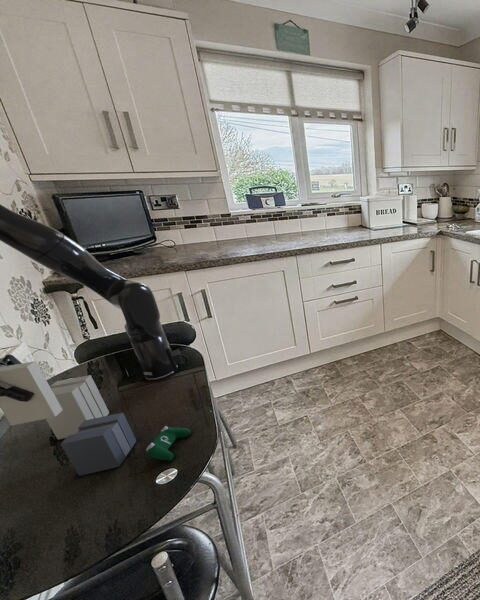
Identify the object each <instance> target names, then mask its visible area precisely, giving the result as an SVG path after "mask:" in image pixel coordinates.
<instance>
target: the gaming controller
mask: <svg viewBox="0 0 480 600" xmlns="http://www.w3.org/2000/svg"><path fill="white" fill-rule="evenodd" d="M159 432H160V433H158V434H157V436H156V437H155V438H154V439H153V440H152V441H151V443H150V444H149V445H147V447H146V449H145V453H146V454H147V455H148V456H149V457H151V458H152V459H155V460H156V459H157V460H160V461H172V460H174V458H175V455H174V454H173V453H172V451H170V450H169V449H170V448H171V446H172V445H173V443H174V442H175V440H177V439H181V438H182V439H183V438H186V437H189V436H190V435H191V430H190V429H189V428H186V427H171V426H167V425H165V426H164V427H163V428H162V429H161V430H160V431H159Z"/></svg>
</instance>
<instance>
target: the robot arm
mask: <svg viewBox="0 0 480 600" xmlns="http://www.w3.org/2000/svg"><path fill="white" fill-rule="evenodd" d="M0 242H2V243H4V244H5V245H7V246H9V247H11V248H12V249H14V250H15V251H18V252H19V253H21V254H23V255H25V256H26V257H28V258H29V259H31V260H33V261H34V262H36V263H38V264H40V265H42V266H44V267H45V268H47V269H49V270H51V271H53V272H55V273H57V274H59V275H61V276H62V277H65V278H67V279H69V280H71V281H74V282H76V283H78V284H81V285H83V286H85V288H88V289H89V290H91V291H92V292H94V293H95V294H97V295H98V296H100V297H101V298H103V299H104V300H106V302H108V303H110V304H111V305H112V306H114V307H115V308H118V309H120V310H121V312H122V314H123V317H124V320H125V324H124V330H125V333H126V335H127V337H128V340H129V342H130V344H131V346H132V349H133V352H134V353H135V356H136V358H137V361H138V363H139V365H140V368H141V371H142V373H143V375H144V378H145V379H146V381H149V382H152V381H159V380H162V379H165V378H168V377H170V376H172V375H174V374H175V373H177V372H179V366H178V363H179V362H182V361H183V360H182V358H184V359H185V365H188V364H189V363H190V358H189V356H188V355H186V354H184V353H181V351H180V349H179V348H178V349H174V350H172V346H171V344H170V342H169V341H168V339H167V338H168V337H167V335H166V333H165V330H164V328H163V325H162V322H161V313H160V310H159V306H158V303H157V301H156V297H155V295H154V293H153V291H152V290H151V288H150V287H149V286H148V285H147V284H144V283H142V282H138V281H132V280H129V279H127V278H125V277H123V276H121V275H119V274H118V273H115V272H114V271H112V270H110V269H108V268H107V267H105V266H104V265H103V264H101V262H100V261H98V259H96V257H95V256H93V254H91V253H90V252H89V251H88V250H87V249H86V248H84V247H83V246H82V245H81V244H79V243H78V242H76V241H75V240H73V239H72V238H70V237H69V236H67V235H65V234H63V232H61V231H59V230H57V229H55V228H53V227H51V226H49V225H46V224H45V223H42V222H41V221H37V220H35V219H32V218H31V217H27V216H24V215H23V214H20V213H18V212H15V211H13V210H11V209H9V208H7V207H6V206H4V205H3V204H1V203H0ZM16 364H22V362H21V361H20V360H19V359H18V358H17V357H15V356H14V355H13V354H9V353H8V354H5V355H4V357H0V367H4V366H10V365H16ZM33 395H34V393H33V392H30V391H28V390H25V389H22V388H19V387H16V386H13V387H11V385H10V384H8V383H6V382H3V381H1V380H0V397H3V396H6V397H9V398H12V399H15V400H18V401H24V402H28V401H29V400H31V398H32V397H33Z"/></svg>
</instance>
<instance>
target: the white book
mask: <svg viewBox="0 0 480 600" xmlns="http://www.w3.org/2000/svg"><path fill="white" fill-rule="evenodd" d="M21 363H22V362H21ZM0 380H1V381H3V382H6V383H8V384H10V385H11V387H13V386H16V387H19V388H22V389H25V390H28V391H30V392H33V393H34V395H33V397H32V398H31V400H29V401H28V402H24V401H18V400H15V399H12V398H9V397H6V396H3V397H0V411H2V413H3V415H4V416H5V417H6V420H7V421H8V423H9V424H10V426H12V427H13V426H17V425H23V424H27V423H32V422H37V421H42V420H46V419H47V418H52V417H56V416H57V415H58V414H59V413H60V412H61V411H62V410H63V409H62V408H61V406H60V404H59V402H58V400H57V399H56V397H55V395H54V393H53V391H52V390H51V387H50V386H51V385H49V382H48V381H47V379H46V376H44V373H43V371H42V370H41V368H40V366H39V365H38V363H37V361H36V360H34V361H27V362H23V363H22V364H16V365H10V366H4V367H0Z"/></svg>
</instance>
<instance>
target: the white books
mask: <svg viewBox="0 0 480 600" xmlns="http://www.w3.org/2000/svg"><path fill="white" fill-rule="evenodd" d="M49 386H50V388H51V390H52V391H53V393H54V395H55V397H56V399H57V400H58V402H59V404H60V406H61V408H62V409H63V410H62V411H61V412H60V413H59V414H58V415H57V416H56V417H52V418H47V419H45V421H46V422H47V424H48V426H49V427H50V429H51V431H52V432H53V434H54V436H55V437H56V439H57V440H63V439H66V438H67V437H68V436H69V435H74V434H76V433H77V432H78V431H79V429H78V427H79V426H80V425H81V424H82V423H83V422H84V421H85V420H89V419H94V418H99V417H104V416H109V415H110V411H109V408H108V407H107V405H106V402H105V401H104V399H103V396H102V395H101V392H100V391H99V389H98V386H97V385H96V382H95V381H94V379H93V377H92V374H89V375H84V376H77V377H72V378H67V379H62V380H56V381H55V382H54V383H52V384H51V385H49Z"/></svg>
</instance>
